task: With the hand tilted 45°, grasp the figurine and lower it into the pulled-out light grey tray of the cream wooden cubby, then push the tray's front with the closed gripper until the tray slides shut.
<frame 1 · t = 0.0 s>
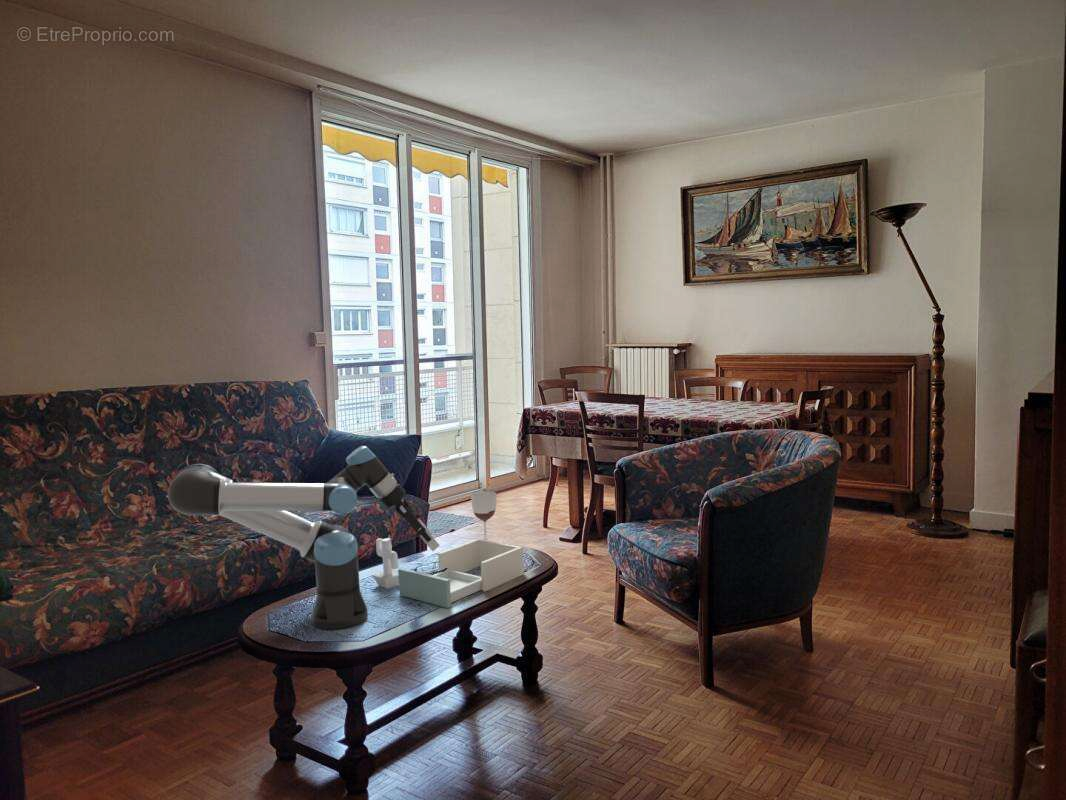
hand: (432, 542, 236), 15 cm above the table, tool tilted 35°, fingers open, 13 cm apart
tray: (445, 578, 235), point 4 cm above the table, slide at 15.0 cm
figurine: (388, 586, 244), on the table
cubby: (478, 578, 247), on the table
wineglass: (486, 556, 272), on the table
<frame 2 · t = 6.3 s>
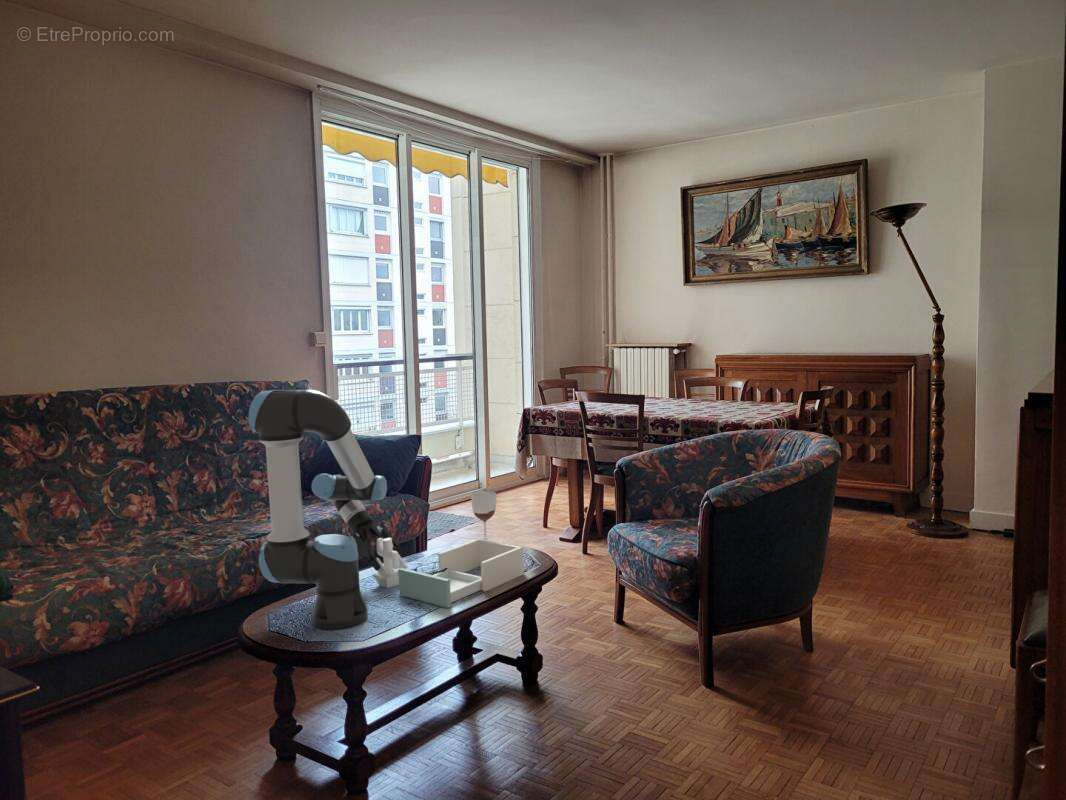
hand: (395, 573, 241), 5 cm above the table, tool tilted 45°, fingers closed on figurine, 7 cm apart
figurine: (389, 585, 244), on the table, touching gripper
everything else where it was.
when the fingers open (7 cm above the table, at t = 12.9 s): figurine drops 1 cm, resting on tray.
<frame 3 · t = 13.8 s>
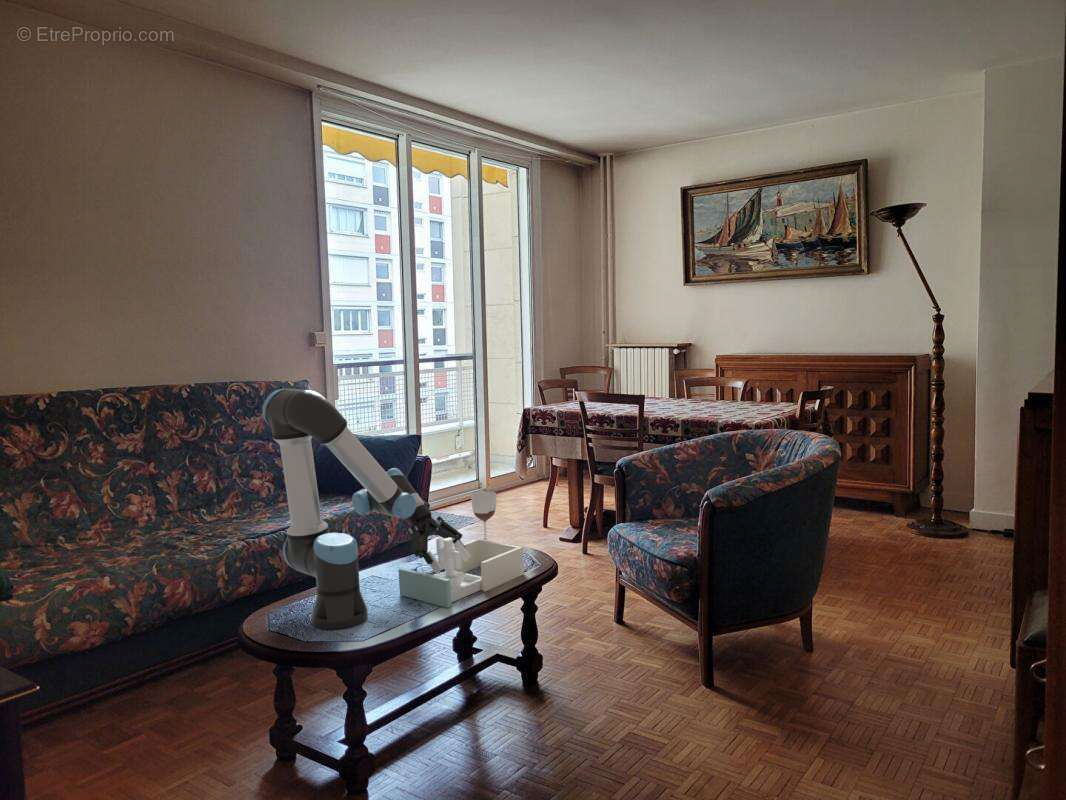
hand: (454, 565, 235), 8 cm above the table, tool tilted 45°, fingers open, 13 cm apart
tray: (445, 578, 235), point 4 cm above the table, slide at 14.9 cm, touching figurine
figurine: (450, 586, 237), point 1 cm above the table, touching tray
everything else where it was.
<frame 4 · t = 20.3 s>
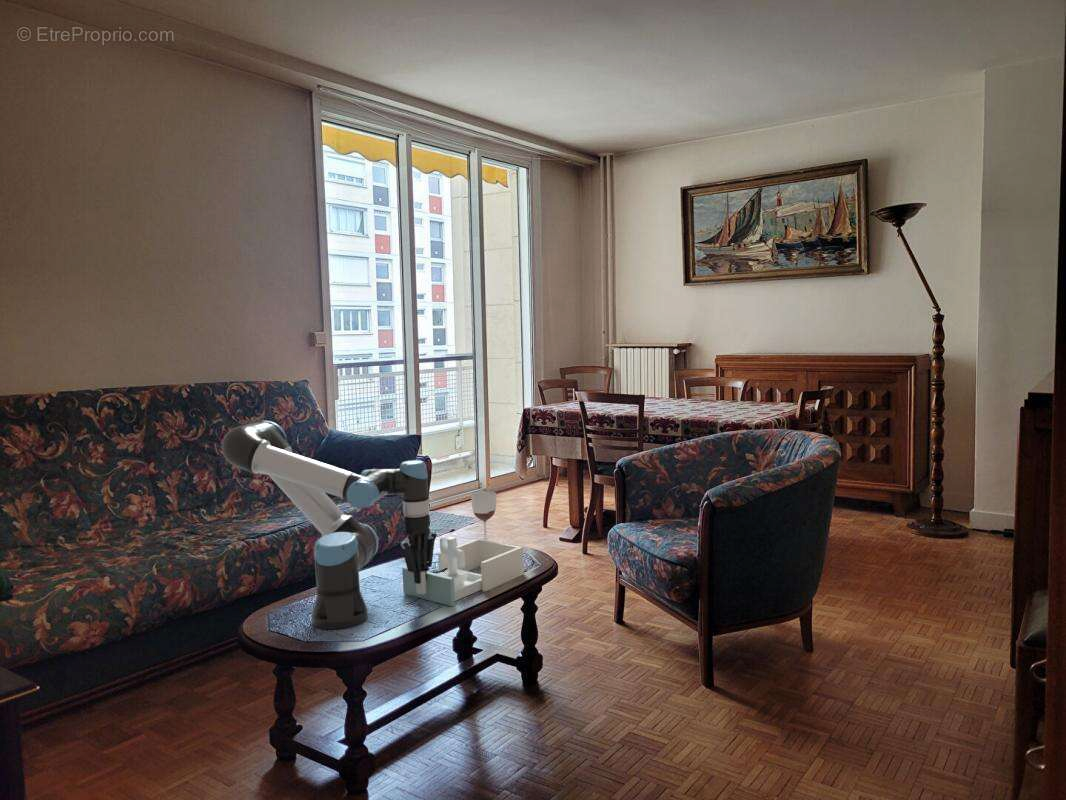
hand: (421, 592, 226), 3 cm above the table, tool pointing down, fingers closed
tray: (448, 577, 236), point 4 cm above the table, slide at 13.4 cm, touching figurine, gripper
figurine: (453, 585, 238), point 1 cm above the table, touching tray
everything else where it was.
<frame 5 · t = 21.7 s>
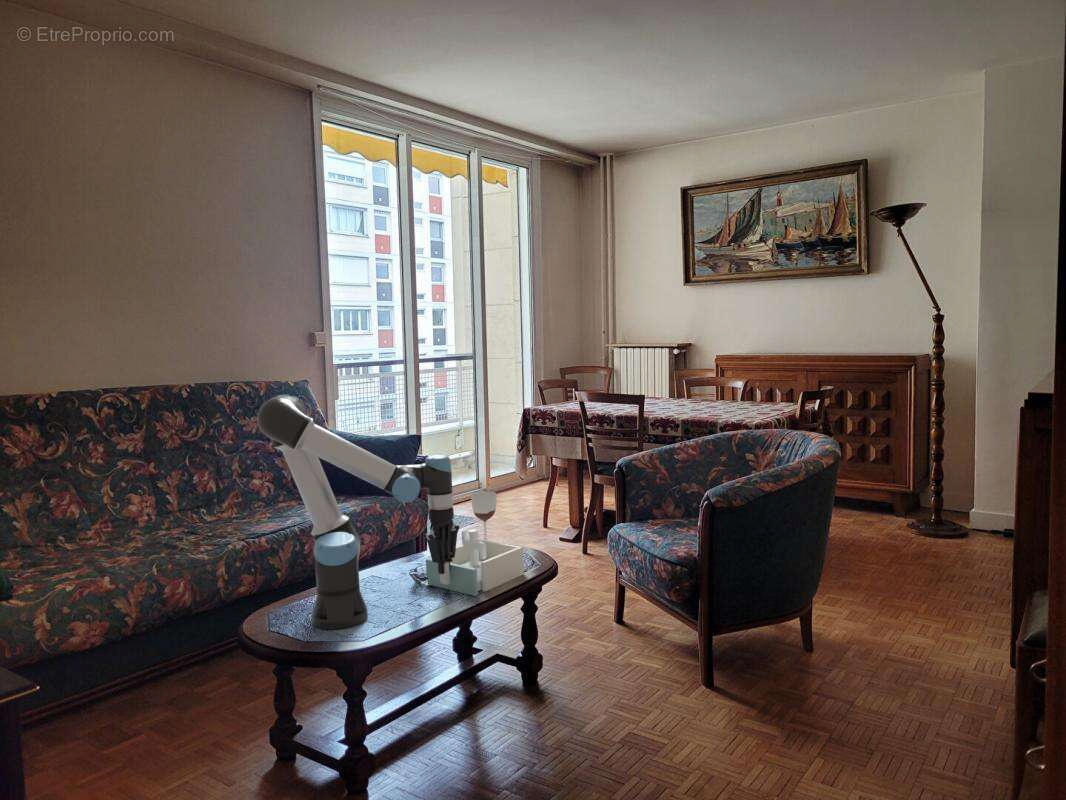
hand: (445, 583, 234), 3 cm above the table, tool pointing down, fingers closed
tray: (470, 568, 244), point 4 cm above the table, slide at 3.4 cm, touching figurine, gripper
figurine: (475, 576, 246), point 1 cm above the table, touching tray
everything else where it was.
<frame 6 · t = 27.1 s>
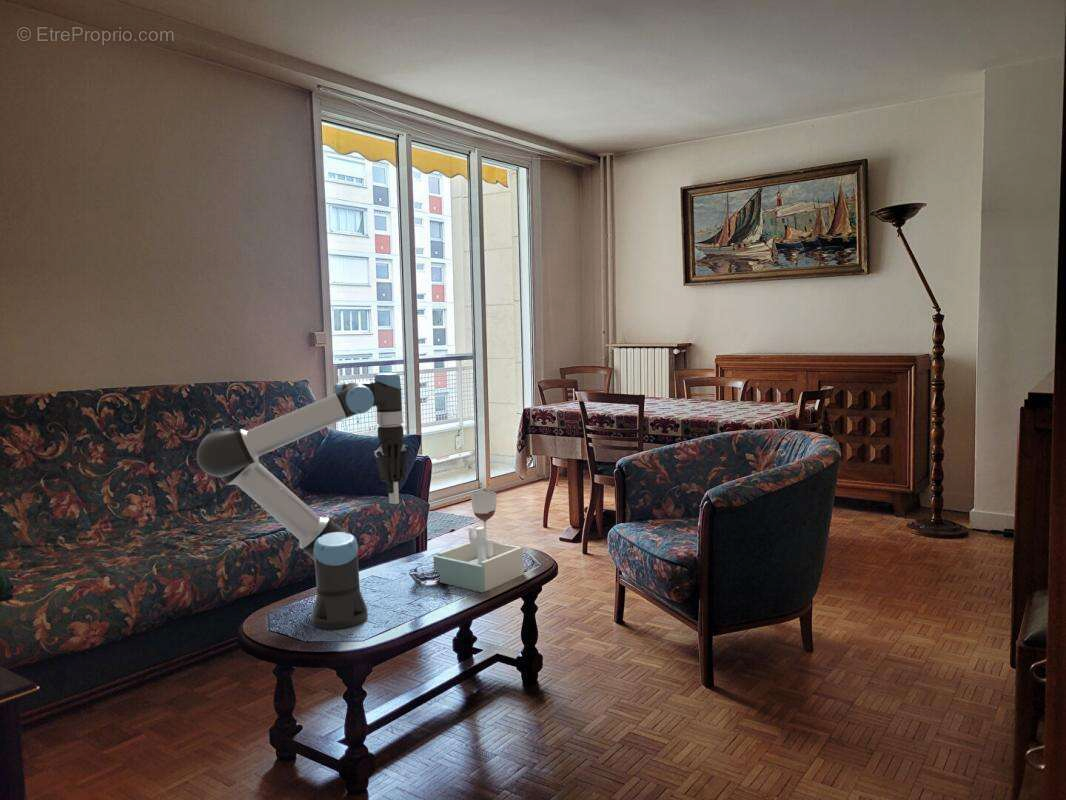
hand: (394, 503, 232), 28 cm above the table, tool pointing down, fingers closed
tray: (477, 565, 247), point 4 cm above the table, slide at 0.0 cm, touching figurine
figurine: (482, 573, 249), point 1 cm above the table, touching tray
everything else where it was.
at the end: tray slide at 0.0 cm; figurine inside the target area on the cubby (0.7 cm from its centre), point 1.1 cm above the cubby's base; figurine tilted 0° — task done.
